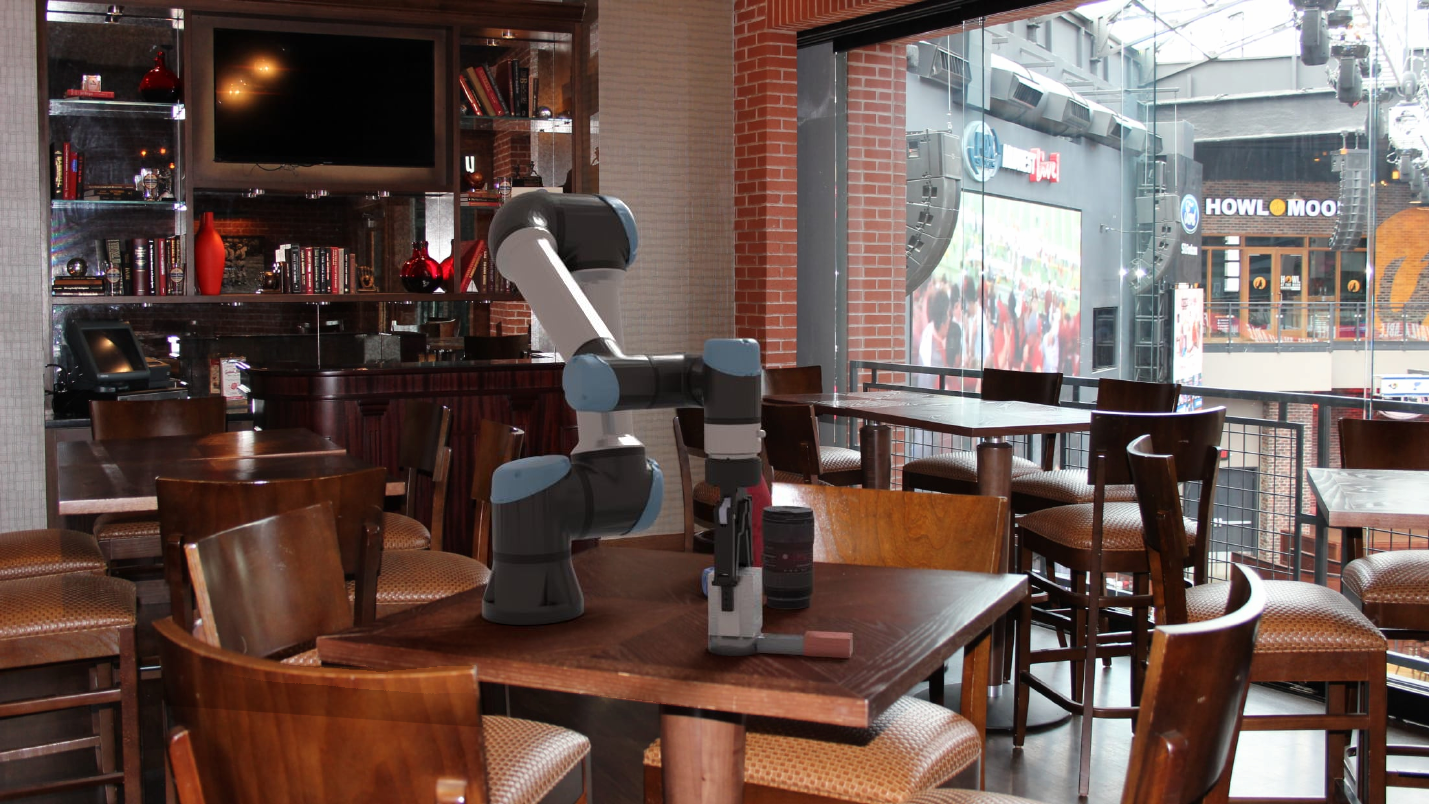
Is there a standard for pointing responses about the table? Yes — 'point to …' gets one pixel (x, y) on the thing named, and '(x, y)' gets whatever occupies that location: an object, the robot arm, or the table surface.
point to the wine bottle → (758, 517)
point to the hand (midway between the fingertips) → (734, 628)
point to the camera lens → (788, 556)
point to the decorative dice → (706, 579)
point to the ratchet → (785, 644)
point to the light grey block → (748, 602)
